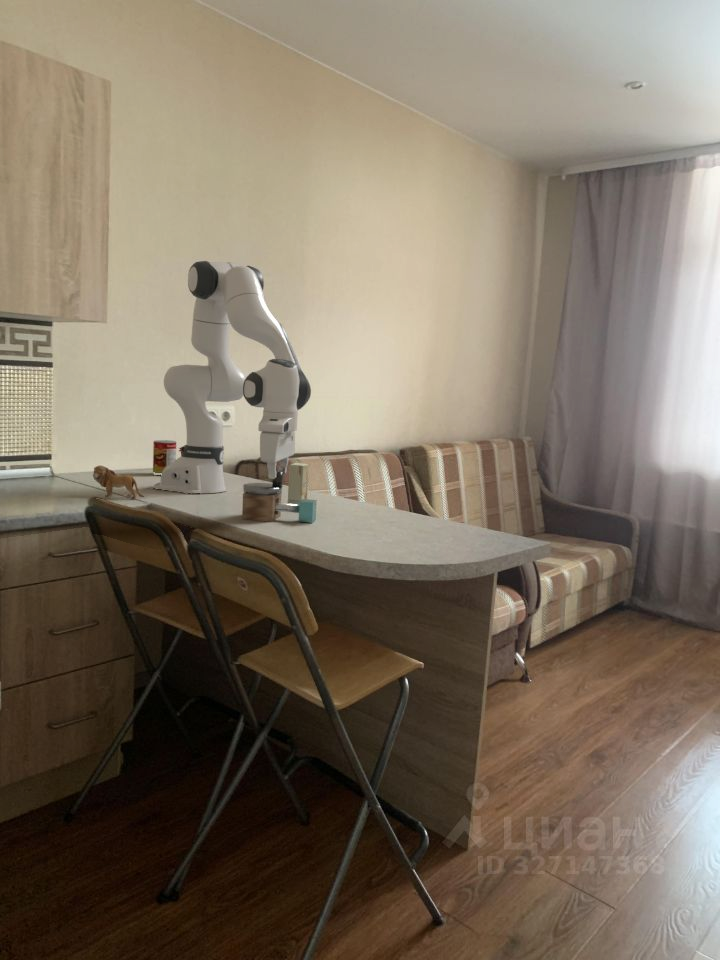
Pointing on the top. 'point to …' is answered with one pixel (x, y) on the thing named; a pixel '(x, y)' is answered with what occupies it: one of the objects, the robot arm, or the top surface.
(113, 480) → the lion figurine
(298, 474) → the skincare box
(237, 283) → the robot arm
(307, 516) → the teal and grey bar
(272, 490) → the handwheel
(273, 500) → the block
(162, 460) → the canned food
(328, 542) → the top surface
